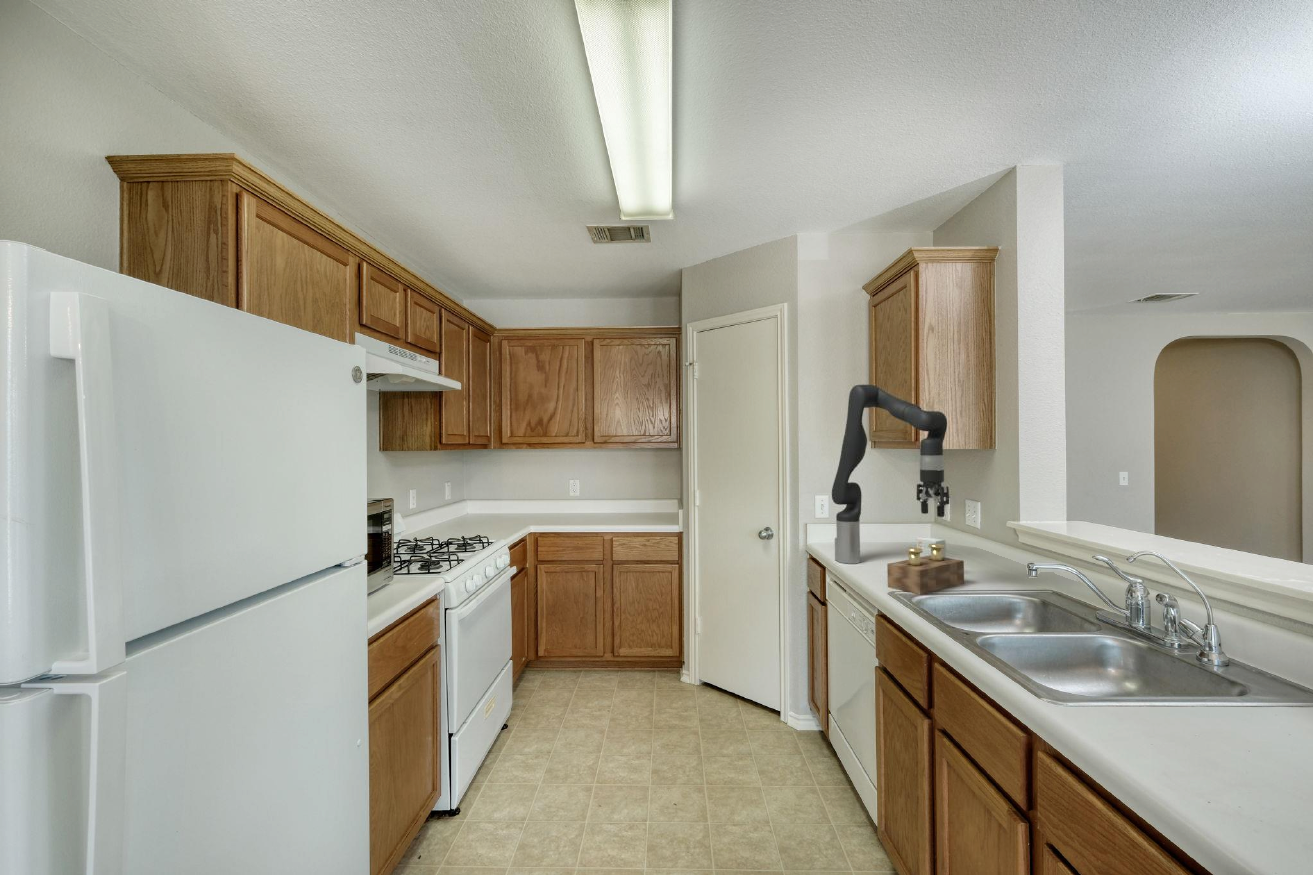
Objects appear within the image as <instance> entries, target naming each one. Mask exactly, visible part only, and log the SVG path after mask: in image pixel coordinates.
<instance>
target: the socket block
mask: <svg viewBox="0 0 1313 875" xmlns="http://www.w3.org/2000/svg"><path fill="white" fill-rule="evenodd" d="M964 564H965V562H964V560H960V559H955V558H951V557H946V558H945V557H942V561H941V562H937V561H932V560H931V555H929V556H924V557H920V566H918V567H916V566H911V565H909V559H905V560H904V559H903V560H901V561H895V562H891V563H887V564H886V565H887V572H886V573H887V588H891V589H895V590H898V591H903V592H906V593H911V594H915V595H919V596H921V595H926V594H930V593H933V592H936V591H941V590H944V589H945V590H946V589H947V588H948V589H949V588H952V587H955V586H960V585H963V584H965V571H964V570H965V567H964V566H965V565H964Z"/></svg>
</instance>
